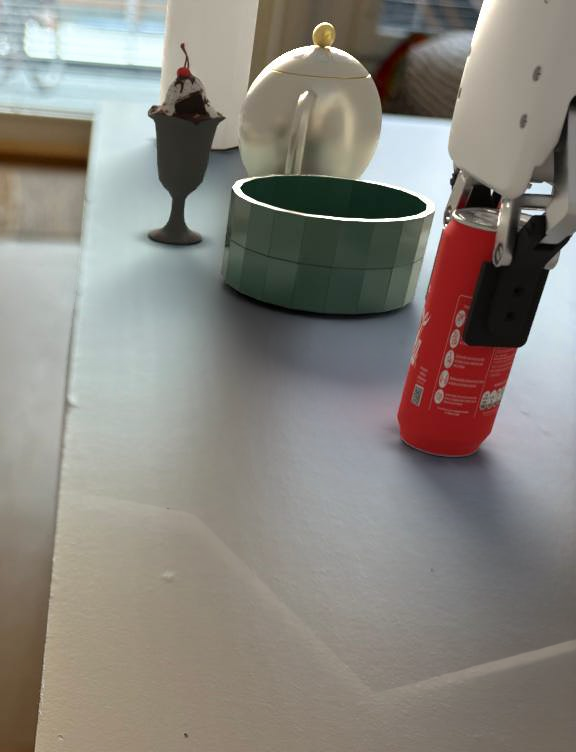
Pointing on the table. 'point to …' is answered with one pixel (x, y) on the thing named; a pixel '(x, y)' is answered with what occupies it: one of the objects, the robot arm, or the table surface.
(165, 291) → the table surface
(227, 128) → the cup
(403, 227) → the green planter pot
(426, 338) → the beverage can
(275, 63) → the teapot
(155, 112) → the sundae
